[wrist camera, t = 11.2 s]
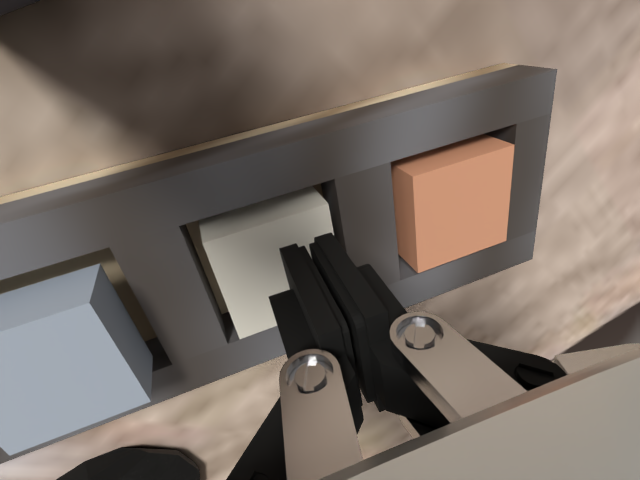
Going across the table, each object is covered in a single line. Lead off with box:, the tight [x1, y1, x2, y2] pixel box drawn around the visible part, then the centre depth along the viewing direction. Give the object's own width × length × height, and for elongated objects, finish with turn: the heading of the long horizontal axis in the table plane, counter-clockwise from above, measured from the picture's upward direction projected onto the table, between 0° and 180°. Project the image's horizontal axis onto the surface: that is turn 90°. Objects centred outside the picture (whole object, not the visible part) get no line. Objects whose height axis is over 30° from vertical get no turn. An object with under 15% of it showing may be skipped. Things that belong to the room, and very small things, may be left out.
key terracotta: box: [390, 134, 515, 273], centre depth 15 cm, size 4×4×2 cm
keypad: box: [0, 63, 557, 464], centre depth 14 cm, size 29×8×3 cm, turn 100°
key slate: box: [0, 264, 153, 456], centre depth 12 cm, size 4×4×2 cm
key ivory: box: [199, 186, 334, 339], centre depth 14 cm, size 4×4×2 cm
